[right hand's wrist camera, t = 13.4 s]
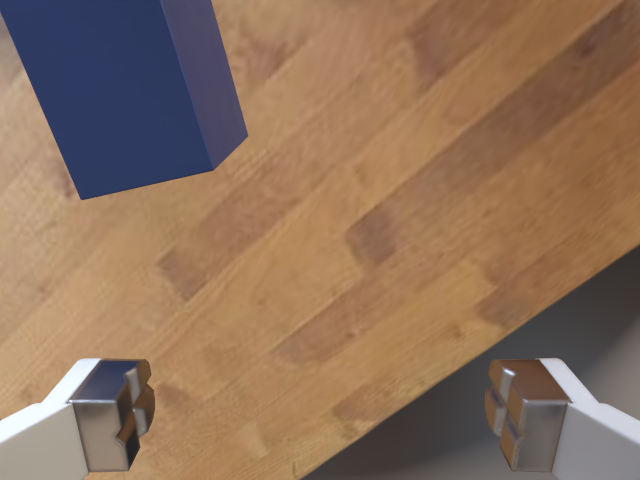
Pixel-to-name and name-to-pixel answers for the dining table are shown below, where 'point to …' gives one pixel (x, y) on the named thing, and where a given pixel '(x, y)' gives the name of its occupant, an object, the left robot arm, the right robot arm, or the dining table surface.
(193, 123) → the box
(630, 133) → the dining table surface
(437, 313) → the dining table surface
